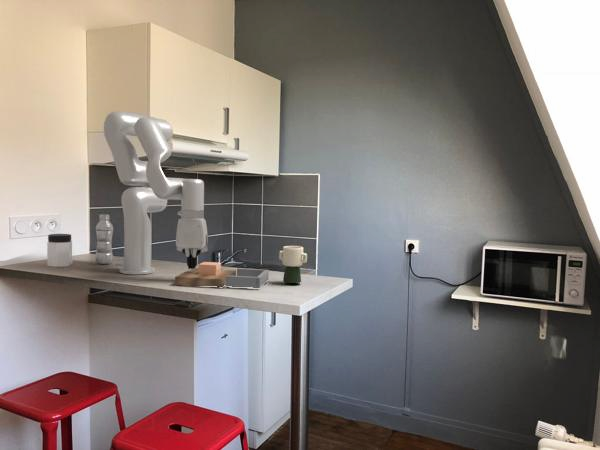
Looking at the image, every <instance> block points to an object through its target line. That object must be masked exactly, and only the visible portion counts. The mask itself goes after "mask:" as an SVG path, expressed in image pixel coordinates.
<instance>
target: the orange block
mask: <svg viewBox="0 0 600 450" xmlns="http://www.w3.org/2000/svg"><path fill="white" fill-rule="evenodd" d="M198 268H199V275H214V276H216V275H218V274H219V273H221V270H222V269H221V268H222V263H221V262H219V261H218V262H215V261H214V262H213V261H202V262H200V263H199V264H198Z"/></svg>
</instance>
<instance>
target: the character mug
mask: <svg viewBox="0 0 600 450" xmlns="http://www.w3.org/2000/svg"><path fill="white" fill-rule="evenodd" d="M278 254H279V255H278V259H279V261H282V265H283V266H285V268H284V273H283V278H282V279H283V280H282V282H283V284H287V283H296V284H301V283H302V275H301V268H300V267H301V266H302V265H304V264H306V263H307V262H308V253H305V252H304V247H303V246H300V245H285V246H282V250H279V252H278ZM300 282H301V283H300Z"/></svg>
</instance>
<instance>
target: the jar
mask: <svg viewBox="0 0 600 450" xmlns="http://www.w3.org/2000/svg"><path fill="white" fill-rule="evenodd" d="M47 237H48V238H47V240H48V241H47V243H46V245H47V248H46V249H47V251H46V253H47V257H46V258H47V259H46V261H47V263H46V264H47V265H46V266H47V267H50V268H51V267H52V268H53V267H54V268H62V267H63V268H64V267H70V266H72V264H73V241H72V234H70V233H51V234H48V235H47Z"/></svg>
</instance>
